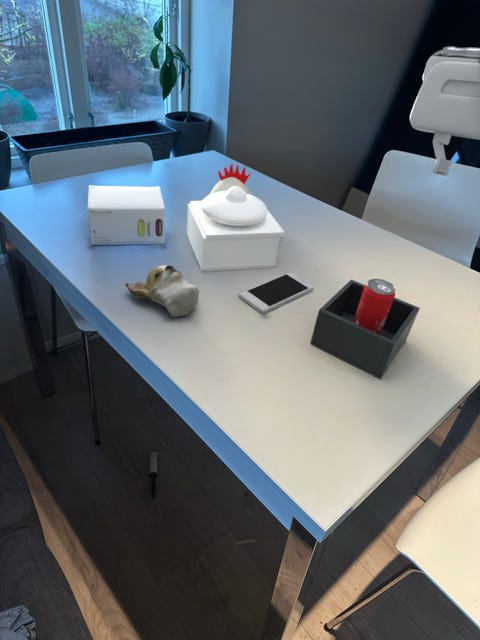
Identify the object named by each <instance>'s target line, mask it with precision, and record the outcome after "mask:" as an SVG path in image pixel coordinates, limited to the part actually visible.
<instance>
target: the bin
mask: <svg viewBox="0 0 480 640" xmlns="http://www.w3.org/2000/svg"><path fill="white" fill-rule="evenodd" d="M365 285H366V284H363V283H362V282H359V281H356V280H354V279H350V280H349V281H347V283H345V284H344V285H343V287H342V288H340V289H339V290H338V291H337V292H336V293H335V294H334V295H333V296H332V297H330V299H329V300H328V301H327V302H326V303H325V304H323V305H322V306H321V307H320V309H318V313H317V316H316V321H315V324H314V328H313V330H312V331H313V332H312V335H311V339H310V345H311V346H313V347H315V348H317V349H319V350H321V351H323V352H325V353H327V354H329V355H330V356H333V357H335V358H337V359H339V360H340V361H343V362H345V363H347V364H348V365H350V366H353V367H355V368H357V369H359V370H361V371H363V372H364V373H367V374H369V375H371V376H373V377H375V378H377V379H378V380H381V378H382V377H383V375H384V374H385V373H386V371H387V370H388V369H389V367H390V365H391V364H392V362H393V361H394V359H395V358H396V357H397V355H398V353H399V352H400V350H401V349H402V347H403V346H404V344H405V343H406V342H407V339H408V337H409V335H410V332H411V330H412V328H413V326H414V323H415V320H416V318H417V316H418V313H419V311H420V309H421V307H419V306H416V305H414V304H411V303H409V302H407V301H405V300H402V299H400V298H397V297H396V296H395V297H394V300H393V302H392V305H391V307H390V310H389V313H388V315H387V318H386V321H385V323H384V326H383V328H382V331H381V334H380V335H379V334H377V333H375V332H372V331H370V330H368V329H366V328H364V327H361V326H359V325H357V324H355V323H353V321H354V318H355V315H356V312H357V309H358V305H359V302H360V299H361V296H362V293H363V290H364V287H365Z"/></svg>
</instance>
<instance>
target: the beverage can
mask: <svg viewBox="0 0 480 640" xmlns="http://www.w3.org/2000/svg"><path fill="white" fill-rule="evenodd" d="M364 285H365V287H364V290H363V293H362V296H361V299H360V302H359V305H358V309H357V312H356V315H355V318H354V321H353V323H355V324H357V325H359V326H361V327H364V328H366V329H368V330H370V331H372V332H375V333H377V334H379V335H380V334H381V331H382V328H383V326H384V323H385V321H386V318H387V315H388V313H389V310H390V307H391V305H392V302H393V300H394V297H395V298H396V287H395V285H393V284H392V283H391V282H389V281H388V280H386V279H382V278H371V279H369V280H368V281H367V282H366V284H364Z"/></svg>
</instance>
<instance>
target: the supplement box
mask: <svg viewBox="0 0 480 640" xmlns="http://www.w3.org/2000/svg"><path fill="white" fill-rule="evenodd" d="M87 200H88V201H87V215H88V216H87V217H88V226H89V236H90V245H91V246H104V245H105V246H110V245H111V246H112V245H113V246H115V245H117V246H118V245H119V246H120V245H121V246H122V245H165V244H166V207H165V202H164V199H163V196H162V189H161V187H160V186H159V185H158V186H143V185H142V186H141V185H139V186H137V185H135V186H134V185H133V186H132V185H90V184H89V185H88V197H87Z"/></svg>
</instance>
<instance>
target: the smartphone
mask: <svg viewBox="0 0 480 640" xmlns="http://www.w3.org/2000/svg"><path fill="white" fill-rule="evenodd" d="M314 287H315V286H314V285H313V284H311V283H309V282H308V281H306V280H305V279H303V278H301V277H300V276H298V275H296V274H295V273H293V272H291V271H289V272H287V273H284V274H282V275H279V276H277V277H275V278H272V279H270V280H268V281H265V282H262V283H260V284H258V285H256V286H253V287H251V288H248V289H247V290H244V291H242V292H240V293H239V298H240V299H241V300H242V301H244V302H245V303H247V304H248V305H250V307H252V308H254V309H255V310H256V311H258V312H259V313H261V314H266V313H268V312H270V311H272V310H274V309H277V308H278V307H280V306H283V305H285V304H287V303H289V302H291V301H293V300H295V299H297V298H300V297H302V296H304V295H306V294H308V293H310V292H312V291H313V290H314Z"/></svg>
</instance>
